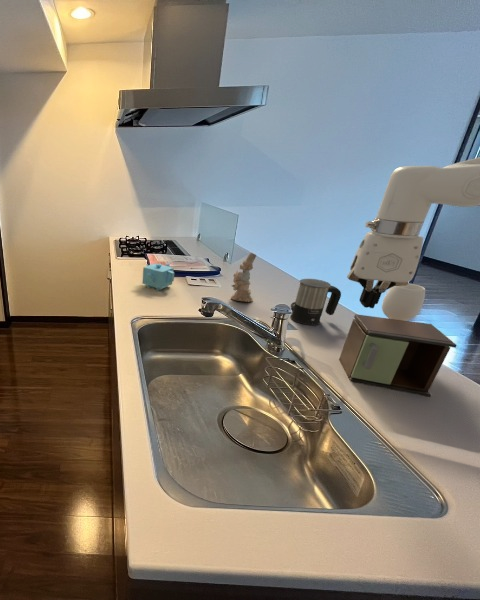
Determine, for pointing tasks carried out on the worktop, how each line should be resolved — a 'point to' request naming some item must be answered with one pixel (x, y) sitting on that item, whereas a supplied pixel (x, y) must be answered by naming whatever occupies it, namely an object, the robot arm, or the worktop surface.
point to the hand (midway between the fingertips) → (366, 305)
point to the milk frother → (314, 301)
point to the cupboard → (416, 360)
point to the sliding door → (379, 359)
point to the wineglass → (403, 302)
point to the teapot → (158, 276)
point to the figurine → (243, 280)
